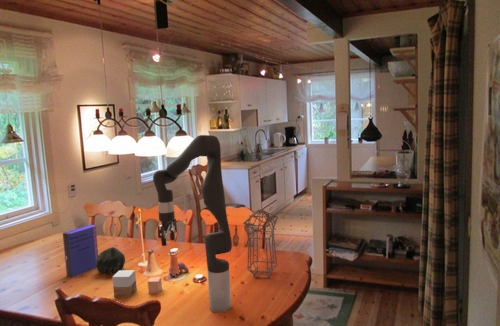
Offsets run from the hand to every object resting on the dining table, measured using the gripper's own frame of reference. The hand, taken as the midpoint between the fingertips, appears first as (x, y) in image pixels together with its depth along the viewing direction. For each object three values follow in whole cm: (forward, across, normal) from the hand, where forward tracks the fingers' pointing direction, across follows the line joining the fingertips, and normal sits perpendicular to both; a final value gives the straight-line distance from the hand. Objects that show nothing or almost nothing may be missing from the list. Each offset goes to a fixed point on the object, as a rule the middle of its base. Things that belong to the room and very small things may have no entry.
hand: (168, 242), depth 200 cm
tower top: (+17, -12, +18) cm, 28 cm away
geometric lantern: (+22, +21, -41) cm, 51 cm away
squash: (+23, +10, +42) cm, 48 cm away
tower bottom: (+22, -12, +18) cm, 31 cm away
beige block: (+22, -7, +5) cm, 24 cm away
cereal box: (+23, +8, +59) cm, 63 cm away
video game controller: (+22, +15, +3) cm, 27 cm away
